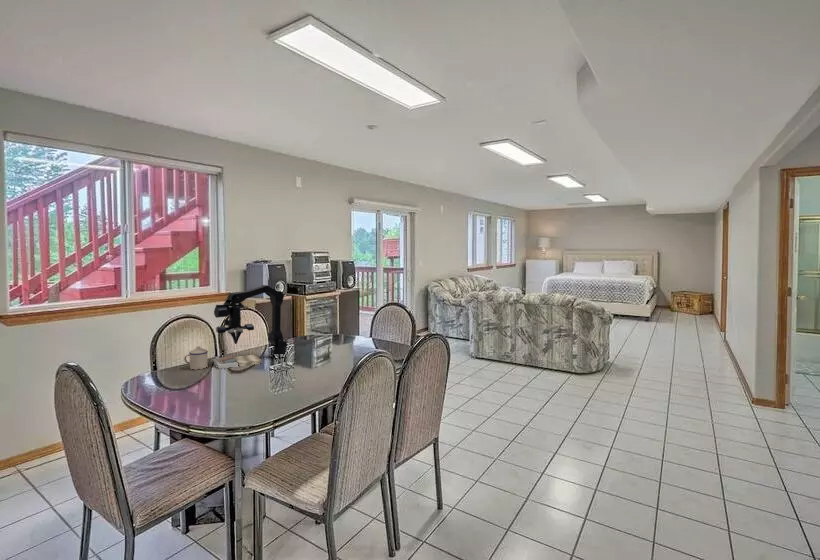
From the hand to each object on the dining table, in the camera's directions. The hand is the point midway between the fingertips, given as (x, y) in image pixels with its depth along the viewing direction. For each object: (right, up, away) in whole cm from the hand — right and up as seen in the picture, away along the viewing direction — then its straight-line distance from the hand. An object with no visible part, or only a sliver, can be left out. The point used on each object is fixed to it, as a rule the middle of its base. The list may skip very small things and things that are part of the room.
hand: (235, 343), depth 239 cm
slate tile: (-3, -11, -1) cm, 11 cm away
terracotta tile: (-6, -11, +5) cm, 13 cm away
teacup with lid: (-19, -12, -5) cm, 23 cm away
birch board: (+4, -12, +8) cm, 14 cm away
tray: (-6, -12, +1) cm, 13 cm away
